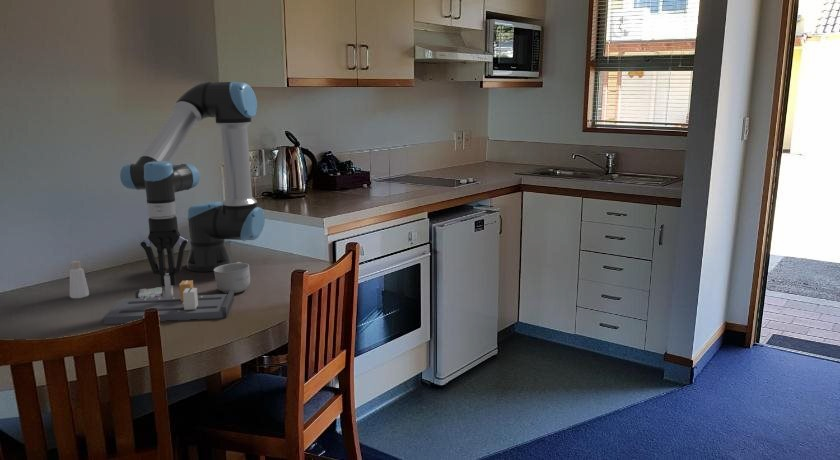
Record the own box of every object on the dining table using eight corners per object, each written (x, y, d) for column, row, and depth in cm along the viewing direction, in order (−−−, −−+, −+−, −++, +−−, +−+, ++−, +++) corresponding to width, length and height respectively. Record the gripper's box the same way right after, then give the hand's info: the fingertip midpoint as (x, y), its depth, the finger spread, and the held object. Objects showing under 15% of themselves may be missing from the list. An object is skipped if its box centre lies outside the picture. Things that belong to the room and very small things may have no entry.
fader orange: (183, 297, 190) (182, 280, 189) (194, 296, 190) (192, 280, 189) (180, 301, 186) (179, 284, 185) (191, 300, 186) (190, 283, 185)
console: (122, 305, 190) (121, 295, 189) (234, 299, 194) (233, 289, 193) (104, 324, 174) (103, 313, 173) (226, 317, 179) (225, 306, 178)
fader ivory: (187, 305, 182) (185, 288, 181) (198, 304, 183) (196, 287, 182) (184, 309, 178) (182, 292, 177) (195, 309, 179) (194, 291, 178)
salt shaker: (65, 297, 197) (61, 262, 195) (80, 292, 202) (76, 258, 200) (78, 299, 196) (74, 264, 193) (93, 294, 200) (89, 260, 198)
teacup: (241, 297, 197) (239, 272, 195) (208, 295, 199) (206, 270, 197) (261, 284, 210) (259, 260, 209) (230, 282, 212) (228, 258, 211)
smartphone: (135, 304, 189) (138, 289, 203) (136, 308, 190) (138, 292, 203) (162, 301, 192) (163, 286, 206) (163, 305, 192) (163, 289, 206)
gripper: (134, 219, 177) (142, 301, 182) (183, 218, 180) (190, 298, 184) (141, 214, 185) (149, 293, 190) (188, 213, 187) (195, 291, 192)
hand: (169, 296), depth 187 cm, fingers closed
